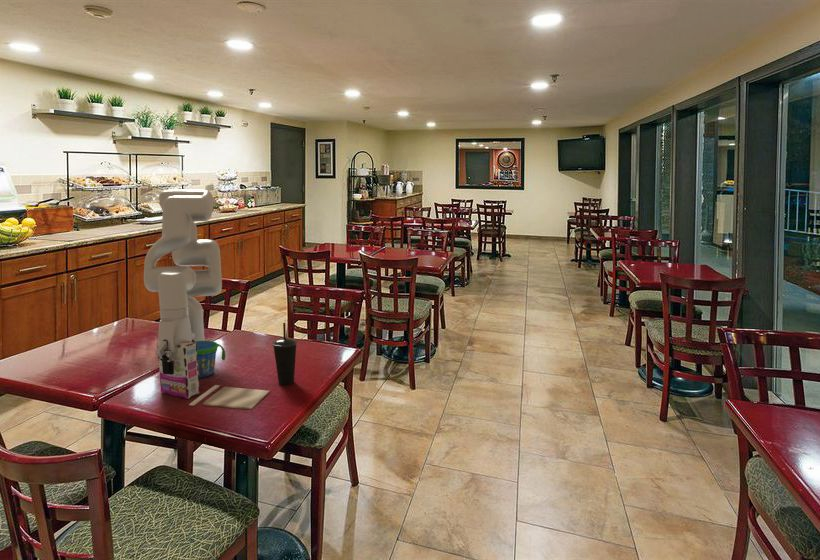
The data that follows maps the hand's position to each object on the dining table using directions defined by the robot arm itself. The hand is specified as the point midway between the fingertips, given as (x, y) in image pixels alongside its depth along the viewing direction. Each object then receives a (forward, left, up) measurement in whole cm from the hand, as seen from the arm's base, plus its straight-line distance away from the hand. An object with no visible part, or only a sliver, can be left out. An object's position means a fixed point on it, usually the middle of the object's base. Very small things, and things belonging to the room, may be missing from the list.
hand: (178, 368), depth 152 cm
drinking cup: (+28, +14, -8) cm, 32 cm away
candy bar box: (0, 0, -8) cm, 8 cm away
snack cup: (-2, +15, -8) cm, 17 cm away
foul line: (+8, 0, -8) cm, 11 cm away
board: (+18, 0, -8) cm, 20 cm away
